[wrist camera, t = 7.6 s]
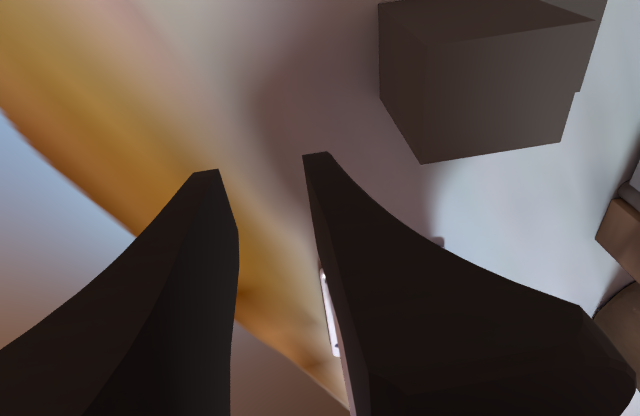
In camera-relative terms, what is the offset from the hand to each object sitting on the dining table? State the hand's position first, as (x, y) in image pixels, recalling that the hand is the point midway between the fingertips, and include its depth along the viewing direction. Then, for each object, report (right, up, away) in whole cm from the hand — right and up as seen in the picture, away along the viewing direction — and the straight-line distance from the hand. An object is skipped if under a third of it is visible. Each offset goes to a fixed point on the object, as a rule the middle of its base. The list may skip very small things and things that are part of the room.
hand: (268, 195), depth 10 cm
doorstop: (+8, +7, +7) cm, 13 cm away
